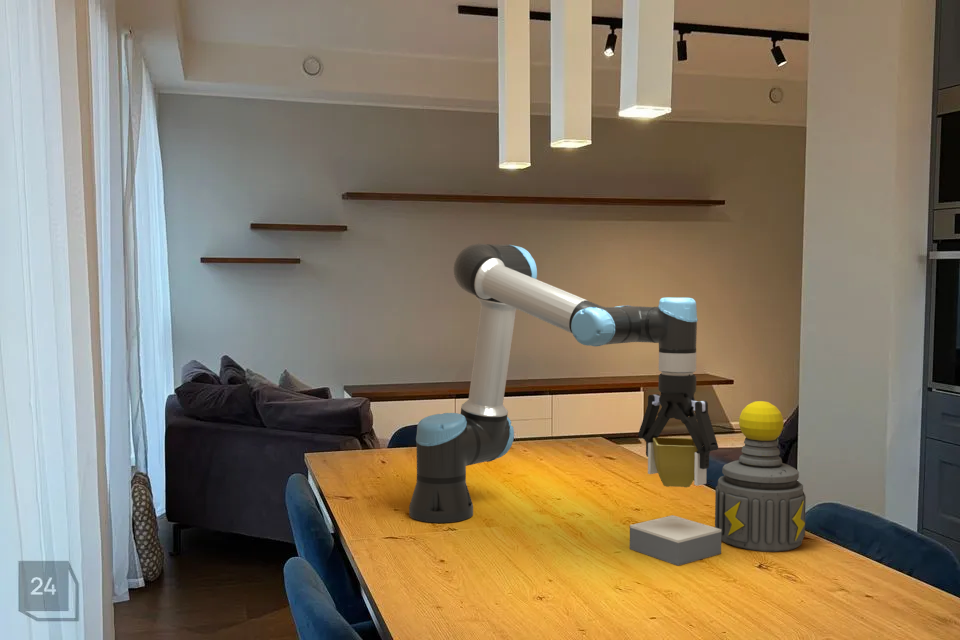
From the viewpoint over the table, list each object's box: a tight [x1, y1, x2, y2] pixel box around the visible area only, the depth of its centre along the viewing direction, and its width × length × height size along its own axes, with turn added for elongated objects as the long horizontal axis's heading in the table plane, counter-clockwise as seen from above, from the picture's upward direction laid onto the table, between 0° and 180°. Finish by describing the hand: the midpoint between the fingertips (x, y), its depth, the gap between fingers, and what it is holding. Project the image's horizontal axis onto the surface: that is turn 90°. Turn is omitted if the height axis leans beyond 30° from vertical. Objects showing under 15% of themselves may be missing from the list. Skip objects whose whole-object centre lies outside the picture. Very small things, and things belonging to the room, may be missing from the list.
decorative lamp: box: [714, 400, 807, 553], centre depth 185 cm, size 19×19×30 cm
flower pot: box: [653, 437, 698, 488], centre depth 177 cm, size 9×9×9 cm
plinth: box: [629, 515, 722, 566], centre depth 177 cm, size 13×13×5 cm
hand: (676, 478), depth 177 cm, fingers closed on flower pot, 12 cm apart
